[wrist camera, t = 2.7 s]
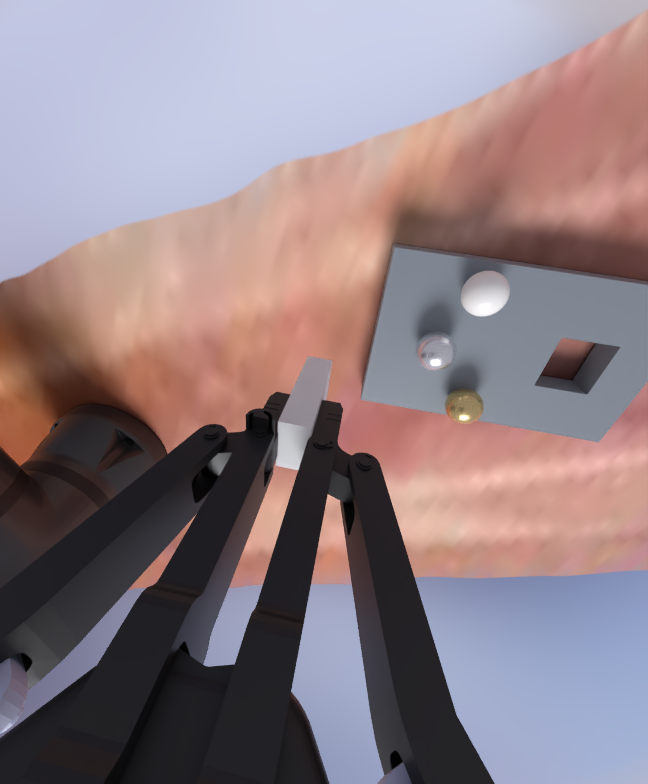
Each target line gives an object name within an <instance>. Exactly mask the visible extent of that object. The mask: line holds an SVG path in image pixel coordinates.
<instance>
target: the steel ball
mask: <svg viewBox="0 0 648 784" xmlns="http://www.w3.org/2000/svg"><path fill="white" fill-rule="evenodd" d="M456 353H457V347H456V344H455V341H454V340H453V338H452V337H451V336H449V335H448V334H446V333H444V332H438V331H435V332H430V333H428V334H426V335H424V336H423V337H422V338H421V339H420V340H419V342H418V343H417V346H416V350H415V354H416V358H417V360H418V362H419V363H420V365H421V366H423V367H424V368H426V369H428V370H433V371H438V370H442V369H445V368H447V367H448V366H449V365H450V364H451V363H452V362H453V361H454V359H455V357H456Z"/></svg>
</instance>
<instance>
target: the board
mask: <svg viewBox="0 0 648 784" xmlns="http://www.w3.org/2000/svg"><path fill="white" fill-rule="evenodd" d="M482 271H495V272H498V273H500V274H502V275H503V276H504V277H505V278H506V279H507V281H508V283H509V286H510V295H509V298H508V301H507V302H506V304H505V305H504V306H503V308H502V309H500V310H499V311H498V312H496V313H494V314H492V315H489V316H475V315H472V314H470V313H469V312H467V311H466V310H465V309H464V307H463V305H462V303H461V291H462V288H463V286H464V284H465V283H466V281H467V280H468V279H469V278H470V277H472V276H473V275H475V274H476V273H479V272H482ZM435 331H438V332H444V333H446V334H448V335H449V336H451V337H452V338H453V340H454V341H455V344H456V347H457V353H456V357H455V359H454V361H453V362H452V363H451V364H450V365H449V366H448V367H447V368H445V369H442V370H438V371H433V370H428V369H426V368H424V367H423V366H421V365H420V363H419V362H418V360H417V358H416V354H415V350H416V346H417V343H418V342H419V340H420V339H421V338H422V337H423V336H424V335H426V334H428V333H430V332H435ZM561 338H568V339H574V340H580V341H587V342H593V343H596V345H595V346H594V348H593V349H592V351H591V352H590V354H589V356H588V357H587V359H586V360H585V362H584V363H583V365H582V366H581V368H580V369H579V371H578V373H577V374H576V376H575V377H574V379H573V380H566V379H560V378H554V377H548V376H542V375H540V374H541V373H542V371H543V369H544V367H545V366H546V364H547V362H548V360H549V359H550V357H551V355H552V353H553V352H554V350H555V348H556V347H557V345H558V343H559V341H560V340H561ZM647 382H648V281H643V280H637V279H630V278H623V277H616V276H610V275H603V274H596V273H590V272H583V271H576V270H569V269H563V268H556V267H549V266H543V265H536V264H529V263H523V262H516V261H509V260H502V259H496V258H489V257H482V256H476V255H469V254H462V253H456V252H449V251H442V250H435V249H429V248H422V247H415V246H409V245H402V244H395V243H393V246H392V251H391V255H390V260H389V265H388V269H387V274H386V278H385V283H384V287H383V292H382V297H381V301H380V306H379V310H378V315H377V319H376V324H375V329H374V333H373V338H372V342H371V347H370V351H369V356H368V361H367V365H366V370H365V374H364V379H363V384H362V391H361V400H366V401H371V402H377V403H383V404H388V405H394V406H399V407H405V408H411V409H416V410H422V411H427V412H433V413H439V414H444V415H447V413H446V411H445V401H446V399H447V397H448V395H449V394H450V393H451V392H453V391H455V390H457V389H461V388H467V389H471V390H473V391H475V392H477V393H478V394H479V395H480V396H481V398H482V400H483V403H484V410H483V413H482V415H481V416H480V418H479V419H478V421H483V422H489V423H495V424H500V425H506V426H511V427H517V428H523V429H528V430H534V431H539V432H545V433H550V434H556V435H562V436H567V437H573V438H578V439H584V440H590V441H595V442H599V441H600V440H601V439H602V438H603V436H604V435H605V434H606V433H607V431H608V430H609V429H610V428H611V426H612V425H613V424H614V423H615V421H616V420H617V419H618V418H619V416H620V415H621V414H622V413H623V411H624V410H625V409H626V408H627V406H628V405H629V404H630V403H631V401H632V400H633V399H634V398H635V396H636V395H637V394H638V393H639V392H640V390H641V389H642V388H643V387H644V385H645V384H646V383H647Z"/></svg>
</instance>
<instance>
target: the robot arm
mask: <svg viewBox="0 0 648 784" xmlns="http://www.w3.org/2000/svg"><path fill="white" fill-rule="evenodd" d="M331 366H332V360H327V359H321V358H316V357H310V356H308V358H307V360H306V362H305V364H304V366H303V369H302V371H301V373H300V375H299V377H298V379H297V381H296V384H295V386H294V388H293V390H292V392H291V394H285V393H280V392H276V393H274V394H273V395H271V396H270V397H269V399H268V401H267V403H266V404H265V406H264V408H263V409H260V408H259V409H253V410H251V411H249V412H248V413H247V414H246V430H245V431H243V432H234V433H227V430H226V428H225V427H223V426H221V425H217V424H210V425H206V426H203V427H202V428H200V429H198V430H197V431H196V432H195V433H193V434H192V435H191V436H190V437H189V438H187V439H186V440H185V441H184V442H182V443H181V444H180V445H179V446H177V447H176V448H175V449H174V450H172V451H171V452H170V453H169V454H166V451H165V449H164V447H163V446H162V444H161V442H160V441H159V440H158V438H157V437H156V436H155V435H154V434H153V433H152V432H151V431H150V430H149V429H148V428H147V427H146V426H145V425H144V424H142V423H141V422H140V421H138V420H137V419H135V418H134V417H132V416H130V415H128V414H126V413H124V412H122V411H120V410H117V409H115V408H112V407H108V406H104V405H98V404H85V405H80V406H77V407H75V408H73V409H72V410H70V411H69V412H67V413H66V414H65V415H63V416H62V417H60V418H59V419H58V420H57V421H56V422H55V423H54V425H53V426H52V428H51V430H50V433H49V434H48V435H47V436H46V438H45V439H44V440H43V441H42V442H41V443H40V445H39V446H38V447H37V449H36V450H35V451H34V453H33V454H32V456H31V457H30V458H29V459H28V460H27V461H26V462H25V463H24V464H22V465H21V466H20V467H19V465H18V464H17V463H16V462H15V461H14V460H13V459H12V458H11V457H10V456H9V455H8V454H7V453H6V452H5V451H4V450H3V449H2V448H1V447H0V733H2V732H5V731H6V730H7V729H9V728H10V727H11V726H12V725H13V724H14V723H15V722H16V720H17V719H18V718H19V717H20V714H21V712H22V710H23V703H24V701H25V699H26V696H27V692H28V690H29V689H30V688H31V687H33V686H34V685H35V684H37V683H38V682H39V681H40V680H41V679H42V678H44V677H45V676H46V675H47V674H48V673H49V672H50V671H51V670H52V669H54V668H55V667H56V666H57V665H58V664H59V663H60V662H61V661H62V660H63V659H64V658H65V657H66V656H67V655H68V654H69V653H70V652H71V651H72V650H73V649H74V648H75V647H76V646H77V645H78V644H79V643H80V642H81V641H82V640H83V638H84V637H85V636H86V635H87V634H88V633H89V632H90V631H91V630H92V628H93V627H94V626H95V625H96V624H97V623H98V622H99V621H100V620H101V618H102V617H103V616H104V615H105V614H106V613H107V612H108V611H109V609H111V608H112V606H113V605H114V604H115V603H116V602H117V601H118V600H119V599H120V598H121V597H122V595H123V594H124V593H125V592H126V591H127V590H128V589H129V588H130V587H131V586H132V584H133V583H134V582H135V581H136V580H137V579H138V578H139V577H140V576H141V575H142V573H143V572H144V571H145V570H146V569H147V568H148V567H149V566H150V565H151V563H152V562H153V561H154V560H155V559H156V558H157V557H158V556H159V555H160V554H161V552H162V551H163V550H164V549H165V548H166V547H167V546H168V545H169V544H170V543H171V541H172V540H173V539H174V538H175V537H176V536H177V535H178V534H179V533H180V532H181V530H182V529H183V528H184V527H185V526H186V525H187V524H188V523H189V522H190V521H191V519H192V518H193V517H194V516H195V515H196V514H197V515H196V516H195V518H194V520H193V522H192V523H191V525H190V527H189V529H188V530H187V532H186V534H185V535H184V537H183V539H182V541H181V542H180V544H179V546H178V548H177V549H176V551H175V553H174V554H173V556H172V558H171V560H170V561H169V563H168V565H167V566H166V568H165V570H164V572H163V573H162V575H161V577H160V578H159V580H158V581H157V583H155V584H154V585H152V586H150V587H147V588H146V589H145V590H144V591H143V592H142V593H141V595H140V596H139V598H138V599H137V600H136V602H135V604H134V605H133V607H132V609H131V610H130V612H129V614H128V615H127V617H126V619H125V620H124V622H123V623H122V625H121V627H120V629H119V630H118V632H117V634H116V635H115V637H114V638H113V640H112V642H111V644H110V645H109V647H108V648H107V650H106V652H105V653H104V655H103V657H102V658H101V660H100V661H99V663H98V665H97V666H95V667H94V668H93V669H91V670H90V671H88V672H87V673H86V674H84V675H83V676H82V677H81V678H79V679H78V680H77V681H75V682H74V683H73V684H71V685H70V686H69V687H67V688H66V689H65V690H63V691H62V692H61V693H59V694H58V695H57V696H55V697H54V698H53V699H52V700H50V701H49V702H47V703H46V704H45V705H43V706H42V707H41V708H40V709H38V710H37V711H36V712H34V713H33V714H32V715H30V716H29V717H28V718H26V719H25V720H24V721H22V722H21V723H20V724H18V725H17V726H16V727H14V728H13V729H12V730H10V731H9V732H8V733H6V734H5V735H4V736H2V737H1V738H0V784H329V781H328V778H327V775H326V772H325V768H324V765H323V762H322V759H321V756H320V753H319V750H318V747H317V744H316V740H315V737H314V734H313V731H312V728H311V725H310V722H309V720H308V718H307V716H306V713H305V711H304V710H303V708H302V706H301V704H300V703H299V701H298V700H297V698H296V697H295V696H294V695H293V694H292V692H291V688H292V682H293V678H294V672H295V667H296V661H297V656H298V651H299V645H300V640H301V634H302V628H303V624H304V618H305V613H306V606H307V601H308V596H309V591H310V586H311V580H312V575H313V570H314V564H315V559H316V553H317V548H318V543H319V537H320V532H321V527H322V521H323V516H324V510H325V505H326V500H327V494H329V495H331V496H333V497H335V498H337V499H338V500H340V504H341V511H342V518H343V525H344V532H345V539H346V546H347V553H348V560H349V567H350V574H351V581H352V587H353V595H354V602H355V608H356V615H357V622H358V629H359V636H360V643H361V650H362V657H363V664H364V671H365V678H366V685H367V692H368V699H369V706H370V712H371V719H372V724H373V729H374V735H375V740H376V745H377V749H378V753H379V757H380V760H381V764H382V768H383V771H384V775H385V776H384V777H383V778H382V779H381V780H380V781H379V782H378V784H494V782H493V780H492V778H491V776H490V775H489V773H488V771H487V769H486V767H485V766H484V764H483V762H482V760H481V759H480V757H479V755H478V753H477V751H476V749H475V748H474V746H473V744H472V743H471V741H470V739H469V737H468V735H467V733H466V731H465V730H464V728H463V726H462V724H461V723H460V721H459V719H458V717H457V715H456V712H455V709H454V706H453V702H452V699H451V696H450V693H449V689H448V686H447V683H446V679H445V676H444V673H443V670H442V666H441V663H440V660H439V656H438V653H437V650H436V647H435V644H434V640H433V637H432V634H431V630H430V627H429V624H428V621H427V617H426V614H425V611H424V608H423V604H422V601H421V598H420V594H419V591H418V588H417V585H416V581H415V578H414V575H413V571H412V568H411V565H410V562H409V558H408V555H407V552H406V548H405V545H404V542H403V539H402V535H401V532H400V529H399V526H398V522H397V519H396V516H395V512H394V509H393V506H392V503H391V499H390V496H389V493H388V489H387V486H386V483H385V480H384V476H383V473H382V470H381V467H380V464H379V462H378V460H377V459H376V458H375V457H374V456H372V455H370V454H368V453H356V454H354V455H352V456H351V455H349V454H347V453H345V452H344V451H343V450H342V449H341V448H340V447H339V445H338V434H339V429H340V423H341V418H342V412H343V408H342V406H341V404H340V403H336V402H331V401H326V399H327V393H328V386H329V380H330V373H331ZM275 461H276V466H280V467H285V468H290V469H295V470H298V473H297V476H296V480H295V483H294V486H293V489H292V493H291V496H290V499H289V502H288V506H287V509H286V512H285V515H284V518H283V522H282V525H281V528H280V531H279V535H278V538H277V541H276V544H275V548H274V551H273V554H272V557H271V561H270V564H269V567H268V570H267V574H266V577H265V580H264V583H263V586H262V590H261V593H260V596H259V600H258V603H257V605H256V608H255V609H254V611H253V612H252V614H251V617H250V619H249V622H248V625H247V628H246V631H245V634H244V637H243V640H242V644H241V647H240V650H239V653H238V656H237V659H236V662H235V665H224V666H213V667H207V666H204V665H203V663H204V660H205V657H206V654H207V650H208V645H209V640H210V636H211V632H212V629H213V627H214V624H215V622H216V619H217V617H218V614H219V611H220V609H221V606H222V603H223V601H224V598H225V596H226V593H227V590H228V588H229V586H230V583H231V581H232V578H233V575H234V573H235V570H236V568H237V565H238V563H239V560H240V557H241V555H242V552H243V550H244V547H245V545H246V542H247V539H248V537H249V534H250V532H251V529H252V527H253V524H254V521H255V519H256V516H257V514H258V511H259V509H260V506H261V503H262V501H263V498H264V496H265V493H266V491H267V488H268V485H269V483H270V480H271V478H272V475H273V466H274V463H275Z"/></svg>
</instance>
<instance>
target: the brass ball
mask: <svg viewBox="0 0 648 784" xmlns="http://www.w3.org/2000/svg"><path fill="white" fill-rule="evenodd" d="M483 410H484V403H483V400H482V398H481V396H480V395H479V394H478V393H477V392H475V391H473V390H471V389H467V388H461V389H457V390H455V391H453V392H451V393H450V394H449V395H448V397H447V399H446V401H445V411H446V413H447V415H448V416H449V417H450V418H451V419H452V420H453V421H455V422H457V423H461V424H469V423H472V422H475V421H476V420H478V419H479V418H480V416H481V415H482V413H483Z"/></svg>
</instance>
